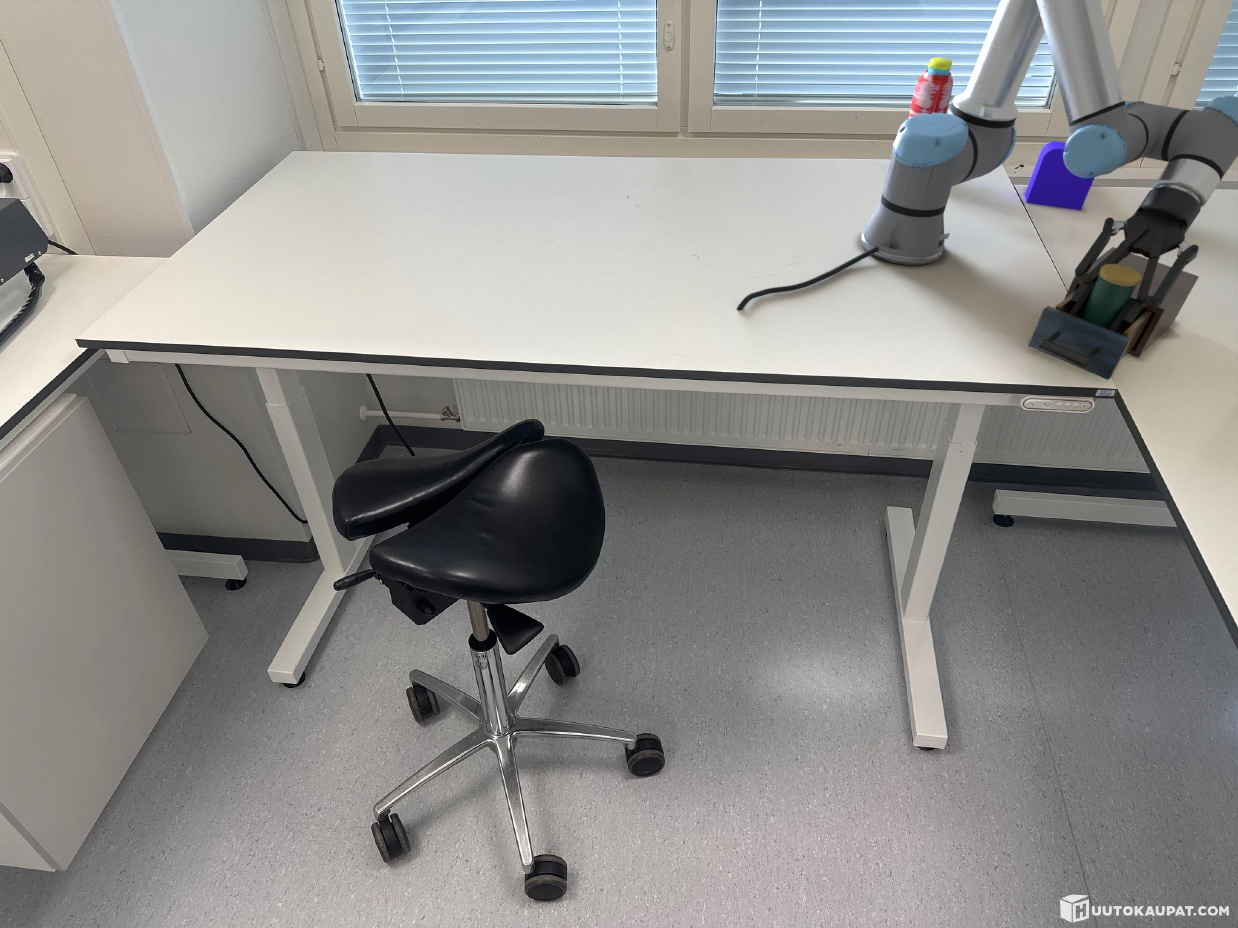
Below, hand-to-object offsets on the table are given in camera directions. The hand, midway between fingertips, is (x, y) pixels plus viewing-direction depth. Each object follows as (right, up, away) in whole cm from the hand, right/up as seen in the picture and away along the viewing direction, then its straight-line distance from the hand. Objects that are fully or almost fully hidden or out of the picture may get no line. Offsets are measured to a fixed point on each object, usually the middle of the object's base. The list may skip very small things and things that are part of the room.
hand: (1087, 331), depth 123 cm
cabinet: (+12, +3, +12) cm, 17 cm away
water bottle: (-7, +44, +58) cm, 74 cm away
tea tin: (+3, -1, +4) cm, 5 cm away
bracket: (+23, +40, +54) cm, 71 cm away
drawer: (+1, -3, +4) cm, 5 cm away
